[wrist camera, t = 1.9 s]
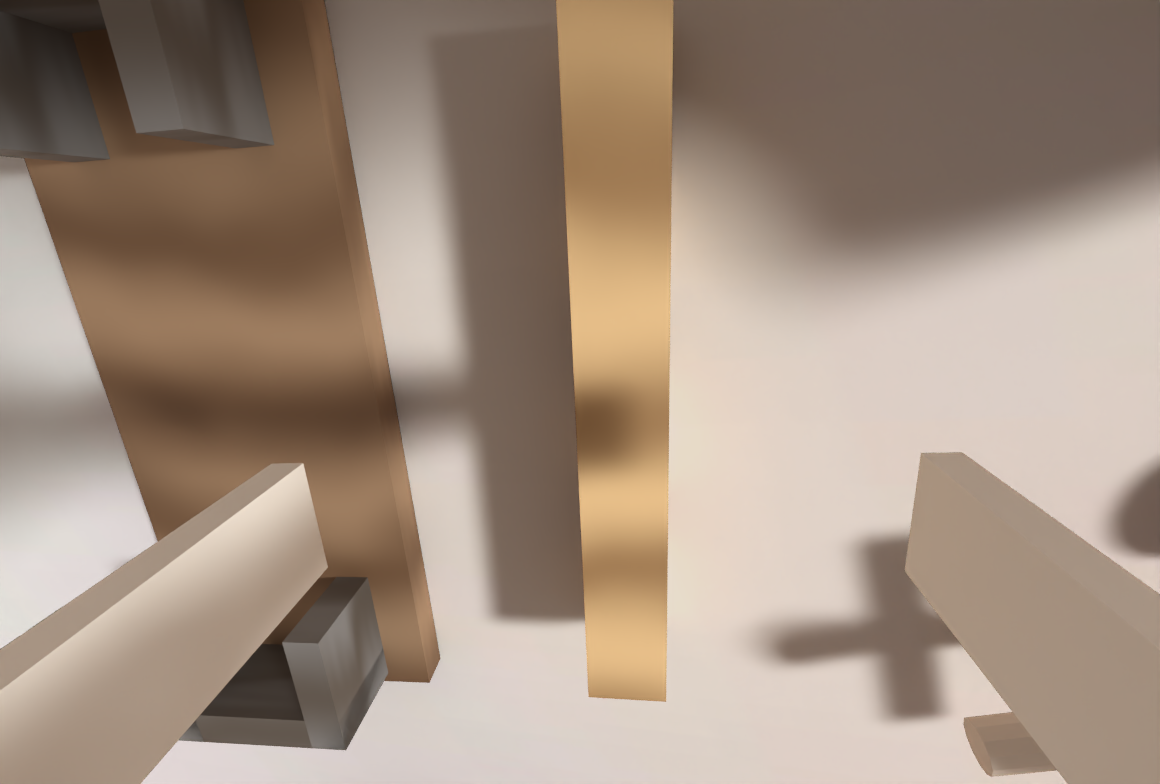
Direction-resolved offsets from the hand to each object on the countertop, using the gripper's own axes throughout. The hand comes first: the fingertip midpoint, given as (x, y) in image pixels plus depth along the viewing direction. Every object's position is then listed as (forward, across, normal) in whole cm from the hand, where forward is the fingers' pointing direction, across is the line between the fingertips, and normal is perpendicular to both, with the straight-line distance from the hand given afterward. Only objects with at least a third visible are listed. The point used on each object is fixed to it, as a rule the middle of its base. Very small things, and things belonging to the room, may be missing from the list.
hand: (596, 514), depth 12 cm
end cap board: (+11, -16, 0) cm, 19 cm away
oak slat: (+11, 0, 0) cm, 11 cm away
